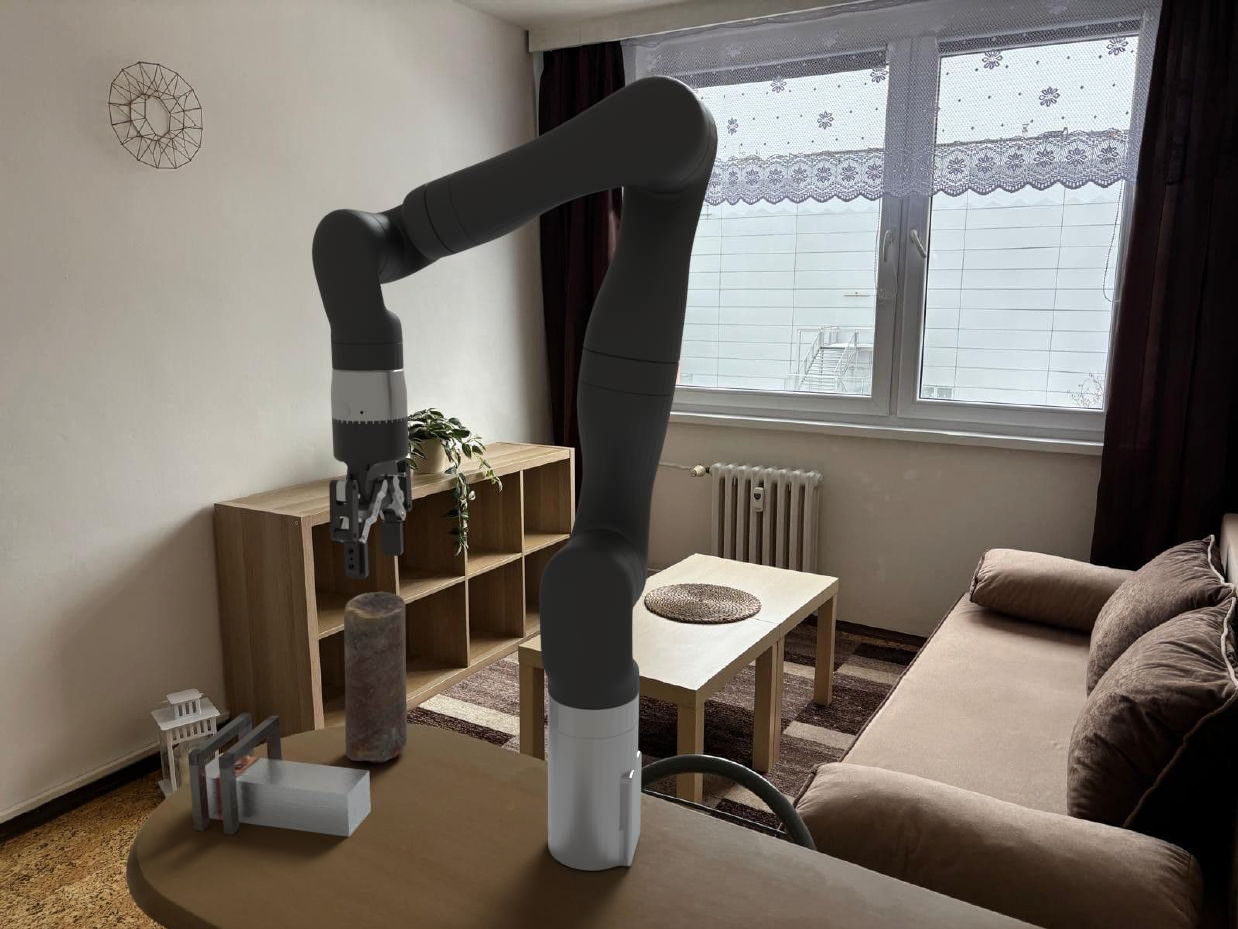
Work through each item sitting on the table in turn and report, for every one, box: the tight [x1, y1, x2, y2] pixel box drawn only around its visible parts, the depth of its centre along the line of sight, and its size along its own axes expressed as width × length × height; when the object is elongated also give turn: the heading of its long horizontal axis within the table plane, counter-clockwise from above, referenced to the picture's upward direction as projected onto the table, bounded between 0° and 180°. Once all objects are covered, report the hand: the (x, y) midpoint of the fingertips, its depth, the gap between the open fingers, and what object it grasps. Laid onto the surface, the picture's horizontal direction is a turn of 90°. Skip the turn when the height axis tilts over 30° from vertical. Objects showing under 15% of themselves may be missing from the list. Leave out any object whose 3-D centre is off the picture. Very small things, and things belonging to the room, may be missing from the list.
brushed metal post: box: [205, 752, 372, 837], centre depth 100 cm, size 18×5×5 cm, turn 79°
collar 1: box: [187, 712, 255, 832], centre depth 101 cm, size 1×10×9 cm, turn 169°
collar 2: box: [218, 715, 283, 836], centre depth 100 cm, size 1×10×9 cm, turn 169°
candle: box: [343, 591, 408, 764], centre depth 111 cm, size 8×7×20 cm
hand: (375, 565), depth 96 cm, fingers open, 8 cm apart
